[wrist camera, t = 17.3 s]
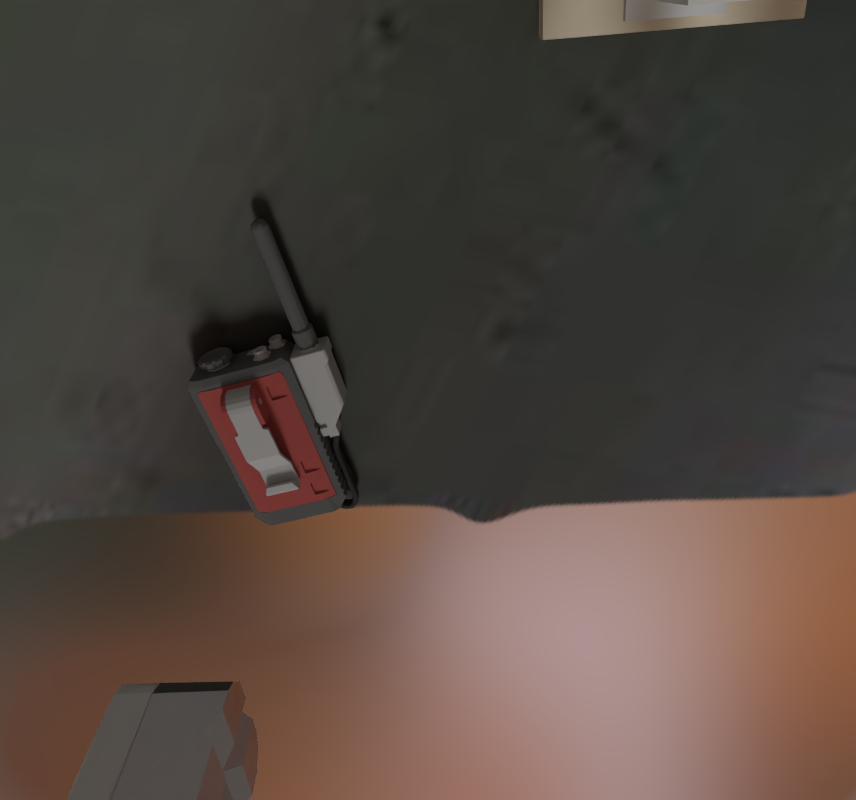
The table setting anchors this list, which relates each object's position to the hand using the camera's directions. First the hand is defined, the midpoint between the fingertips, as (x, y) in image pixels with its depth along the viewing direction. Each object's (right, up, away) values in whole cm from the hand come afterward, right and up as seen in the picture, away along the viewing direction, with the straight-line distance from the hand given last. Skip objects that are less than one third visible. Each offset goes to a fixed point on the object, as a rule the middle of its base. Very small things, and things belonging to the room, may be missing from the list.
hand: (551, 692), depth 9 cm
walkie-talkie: (-11, +5, +36) cm, 38 cm away
